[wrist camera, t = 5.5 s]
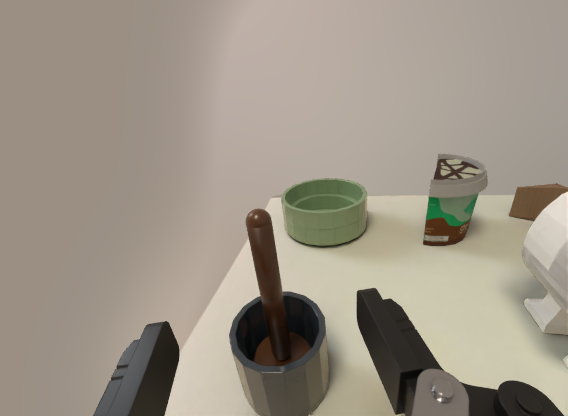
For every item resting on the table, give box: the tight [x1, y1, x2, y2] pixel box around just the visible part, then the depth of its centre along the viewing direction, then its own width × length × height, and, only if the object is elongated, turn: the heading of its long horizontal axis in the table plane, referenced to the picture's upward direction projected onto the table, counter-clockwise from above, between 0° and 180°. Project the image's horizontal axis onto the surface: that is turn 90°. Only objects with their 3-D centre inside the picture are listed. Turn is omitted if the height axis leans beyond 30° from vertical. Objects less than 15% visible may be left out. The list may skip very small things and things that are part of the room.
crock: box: [229, 292, 329, 416], centre depth 22 cm, size 7×7×6 cm
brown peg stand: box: [246, 209, 310, 366], centre depth 20 cm, size 5×5×16 cm
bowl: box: [281, 178, 367, 246], centre depth 44 cm, size 13×13×6 cm
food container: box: [423, 154, 487, 246], centre depth 38 cm, size 12×6×10 cm, turn 149°
